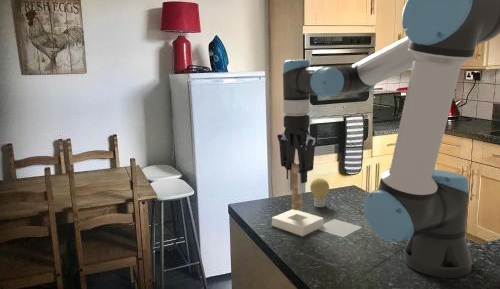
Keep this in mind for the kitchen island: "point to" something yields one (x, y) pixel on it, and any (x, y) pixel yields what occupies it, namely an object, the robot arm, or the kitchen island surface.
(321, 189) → the light bulb
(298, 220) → the hole block
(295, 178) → the dowel
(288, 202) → the kitchen island surface
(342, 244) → the kitchen island surface
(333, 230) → the mat
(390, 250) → the kitchen island surface
